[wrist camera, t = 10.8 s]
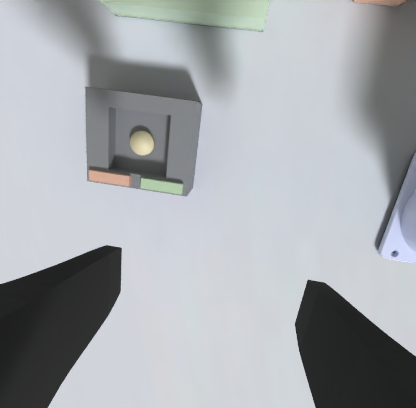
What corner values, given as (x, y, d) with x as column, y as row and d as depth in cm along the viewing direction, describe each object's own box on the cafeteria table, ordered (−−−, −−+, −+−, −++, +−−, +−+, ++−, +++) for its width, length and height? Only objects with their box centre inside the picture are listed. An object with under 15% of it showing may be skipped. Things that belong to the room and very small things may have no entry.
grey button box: (202, 104, 18) (195, 100, 15) (192, 187, 20) (185, 197, 17) (105, 91, 18) (82, 86, 15) (105, 174, 20) (84, 181, 17)
